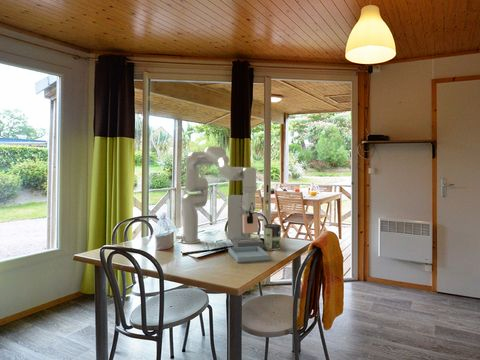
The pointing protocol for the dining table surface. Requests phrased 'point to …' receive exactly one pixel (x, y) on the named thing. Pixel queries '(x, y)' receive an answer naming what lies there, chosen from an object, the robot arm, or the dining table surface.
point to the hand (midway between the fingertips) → (249, 222)
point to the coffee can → (272, 236)
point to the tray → (248, 254)
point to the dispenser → (247, 242)
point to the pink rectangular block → (250, 227)
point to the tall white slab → (236, 217)
